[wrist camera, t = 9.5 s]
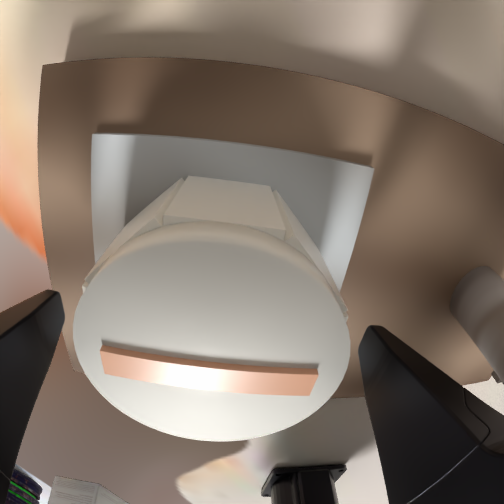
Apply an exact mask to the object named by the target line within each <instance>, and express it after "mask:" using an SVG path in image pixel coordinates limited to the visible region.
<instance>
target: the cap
mask: <svg viewBox="0 0 504 504" xmlns="http://www.w3.org/2000/svg"><path fill="white" fill-rule="evenodd" d="M84 280H85V283H84V284H83V285H82V289H83V295H82V296H81V298H80V300H79V303H78V305H77V308H76V311H75V315H74V321H73V341H74V346H75V351H76V354H77V357H78V360H79V362H80V365H81V366H82V368H83V370H84V372H85V374H86V376H87V377H88V379H89V380H90V381H91V383H92V384H93V386H94V387H95V388H96V389H97V390H98V391H99V392H100V394H101V395H102V396H103V397H104V398H106V399H107V400H108V401H109V402H110V403H111V404H112V405H113V406H115V407H116V408H118V409H119V410H120V411H122V412H123V413H124V414H126V415H128V416H129V417H131V418H133V419H134V420H136V421H138V422H140V423H142V424H144V425H146V426H148V427H151V428H154V429H156V430H158V431H161V432H164V433H168V434H171V435H175V436H179V437H183V438H189V439H195V440H202V441H238V440H246V439H252V438H258V437H262V436H266V435H269V434H273V433H276V432H278V431H281V430H284V429H286V428H288V427H291V426H293V425H295V424H297V423H299V422H300V421H302V420H304V419H305V418H307V417H309V416H310V415H311V414H313V413H314V412H315V411H317V410H318V409H319V408H320V407H321V406H322V405H324V404H325V403H326V402H327V401H328V400H329V398H330V397H331V396H332V395H333V394H334V392H335V391H336V390H337V388H338V386H339V385H340V383H341V381H342V380H343V377H344V375H345V373H346V370H347V367H348V363H349V358H350V336H349V330H348V327H347V324H346V322H347V319H348V315H347V313H346V311H348V309H347V307H346V305H345V303H344V301H343V299H342V297H341V295H340V292H339V290H338V288H337V286H336V284H335V282H334V280H333V278H332V276H331V274H330V272H329V270H328V268H327V266H326V263H325V261H324V259H323V257H322V255H321V253H320V251H319V249H318V248H317V246H316V245H315V243H314V242H313V240H312V239H311V238H310V236H309V235H308V233H307V232H306V230H305V229H304V228H303V226H302V225H301V223H300V222H299V221H298V219H297V218H296V216H295V215H294V214H293V212H292V211H291V209H290V208H289V207H288V205H287V204H286V202H285V201H284V200H283V198H282V197H281V196H280V194H279V193H278V191H277V190H275V191H273V192H272V190H271V187H270V186H267V185H260V184H253V183H246V182H238V181H230V180H223V179H214V178H206V177H197V176H188V177H187V179H186V180H185V181H184V179H183V178H181V179H179V180H178V181H177V182H176V183H174V184H173V185H172V186H171V187H169V188H168V189H167V190H166V191H165V192H163V193H162V194H161V195H160V196H159V197H157V198H156V199H155V200H154V201H153V202H152V203H150V204H149V205H148V206H147V207H146V208H145V209H143V210H142V211H141V212H140V213H139V214H138V215H137V216H135V217H134V218H133V219H132V220H131V221H130V222H129V223H127V224H126V226H125V227H124V228H123V229H122V230H121V232H120V233H119V234H118V235H117V237H116V238H115V239H114V241H113V242H112V243H111V244H110V246H109V247H108V248H107V250H106V251H105V252H104V253H103V255H102V256H101V257H100V259H99V260H98V261H97V263H96V264H95V265H94V267H93V268H92V269H91V271H90V272H89V273H88V275H87V276H86V278H85V279H84Z"/></svg>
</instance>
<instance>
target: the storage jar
mask: <svg viewBox="0 0 504 504" xmlns="http://www.w3.org/2000/svg"><path fill="white" fill-rule="evenodd" d="M10 481H11V482H10V486H9V490H8V494H7V499H6V503H5V504H39V501H37V500H40V494H41V493H42V488H41V487H40V486H39V485H38V484H37V483H36V482H34V481H33V480H32V479H30V478H29V477H27V476H26V475H24V474H22V473H21V472H19V471H17V470H16V469H14V470H13V473H12V477H11V480H10Z"/></svg>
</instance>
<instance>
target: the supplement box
mask: <svg viewBox="0 0 504 504" xmlns="http://www.w3.org/2000/svg"><path fill="white" fill-rule="evenodd" d="M48 504H129V503H128V502H126V501H124V500H123V499H121V498H120V497H118V496H116V495H115V494H114V493H112V492H111V491H109V490H108V489H106V488H105V487H103V486H102V485H101V484H98V483H93V482H87V481H82V480H76V479H70V478H65V477H61V476H56V477H55V479H54V483H53V486H52V490H51V493H50V497H49V501H48Z"/></svg>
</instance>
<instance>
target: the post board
mask: <svg viewBox="0 0 504 504" xmlns="http://www.w3.org/2000/svg"><path fill="white" fill-rule="evenodd" d="M188 176H197V177H206V178H214V179H223V180H230V181H238V182H246V183H253V184H260V185H267V186H270V187H271V190H272V192H273V191H275V190H277V191H278V193H279V194H280V196H281V197H282V198H283V200H284V201H285V202H286V204H287V205H288V207H289V208H290V209H291V211H292V212H293V214H294V215H295V216H296V218H297V219H298V221H299V222H300V223H301V225H302V226H303V228H304V229H305V230H306V232H307V233H308V235H309V236H310V238H311V239H312V240H313V242H314V243H315V245H316V246H317V248H318V249H319V251H320V253H321V255H322V257H323V259H324V261H325V263H326V266H327V268H328V270H329V272H330V274H331V276H332V278H333V280H334V282H335V284H336V286H337V288H338V290H339V292H340V295H341V297H342V299H343V301H344V303H345V305H346V307H347V309H348V311H346V313H347V315H348V319H347V322H346V324H347V327H348V330H349V336H350V358H349V363H348V367H347V370H346V373H345V375H344V377H343V380H342V381H341V383H340V385H339V386H338V388H337V390H336V391H335V392H334V394H333V395H332V396H331V397H330V398H351V397H365V394H364V388H363V381H362V375H361V368H360V362H359V356H358V347H359V344H360V342H361V340H362V337H363V335H364V333H365V331H366V328H367V327H368V326H370V325H381V326H383V327H384V328H386V329H387V330H388V331H390V332H391V333H392V334H394V335H395V336H396V337H398V338H399V339H400V340H402V341H403V342H404V343H406V344H407V345H408V346H410V347H411V348H412V349H414V350H415V351H416V352H418V353H419V354H420V355H422V356H423V357H424V358H426V359H427V360H428V361H430V362H431V363H432V364H434V365H435V366H436V367H438V368H439V369H440V370H442V371H443V372H444V373H446V374H447V375H448V376H450V377H451V378H452V379H454V380H455V381H456V382H458V383H459V384H460V385H467V384H472V383H478V382H483V381H487V380H489V379H490V377H491V376H493V378H494V379H495V381H496V382H497V383H500V382H502V383H503V384H504V145H503V144H501V143H500V142H498V141H496V140H494V139H492V138H490V137H488V136H486V135H484V134H482V133H480V132H478V131H476V130H473V129H471V128H469V127H467V126H465V125H463V124H460V123H458V122H456V121H453V120H451V119H449V118H446V117H444V116H442V115H439V114H437V113H434V112H432V111H429V110H427V109H424V108H421V107H419V106H416V105H413V104H410V103H408V102H405V101H402V100H399V99H396V98H393V97H390V96H387V95H384V94H381V93H377V92H374V91H371V90H368V89H364V88H361V87H357V86H353V85H350V84H346V83H342V82H338V81H334V80H330V79H326V78H322V77H317V76H313V75H308V74H303V73H298V72H293V71H288V70H282V69H276V68H270V67H264V66H257V65H250V64H242V63H234V62H225V61H214V60H202V59H186V58H150V57H144V58H108V59H93V60H81V61H71V62H62V63H54V64H47V65H43V67H42V76H41V86H40V98H39V114H38V179H39V196H40V209H41V219H42V228H43V236H44V244H45V251H46V257H47V263H48V269H49V274H50V280H51V285H52V290H54V291H58V292H59V293H60V295H61V298H62V303H63V308H64V312H65V322H64V325H63V328H62V333H63V336H64V340H65V343H66V347H67V350H68V354H69V357H70V360H71V364H72V367H73V370H74V371H77V372H82V373H85V372H84V370H83V368H82V366H81V365H80V362H79V360H78V357H77V354H76V351H75V346H74V341H73V321H74V315H75V311H76V308H77V305H78V303H79V300H80V298H81V296H82V295H83V289H82V285H83V284H84V283H85V280H84V279H85V278H86V276H87V275H88V273H89V272H90V271H91V269H92V268H93V267H94V265H95V264H96V263H97V261H98V260H99V259H100V257H101V256H102V255H103V253H104V252H105V251H106V250H107V248H108V247H109V246H110V244H111V243H112V242H113V241H114V239H115V238H116V237H117V235H118V234H119V233H120V232H121V230H122V229H123V228H124V227H125V226H126V224H127V223H129V222H130V221H131V220H132V219H133V218H134V217H135V216H137V215H138V214H139V213H140V212H141V211H142V210H143V209H145V208H146V207H147V206H148V205H149V204H150V203H152V202H153V201H154V200H155V199H156V198H157V197H159V196H160V195H161V194H162V193H163V192H165V191H166V190H167V189H168V188H169V187H171V186H172V185H173V184H174V183H176V182H177V181H178V180H179V179H181V178H183V179H184V181H185V180H186V179H187V177H188Z"/></svg>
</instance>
